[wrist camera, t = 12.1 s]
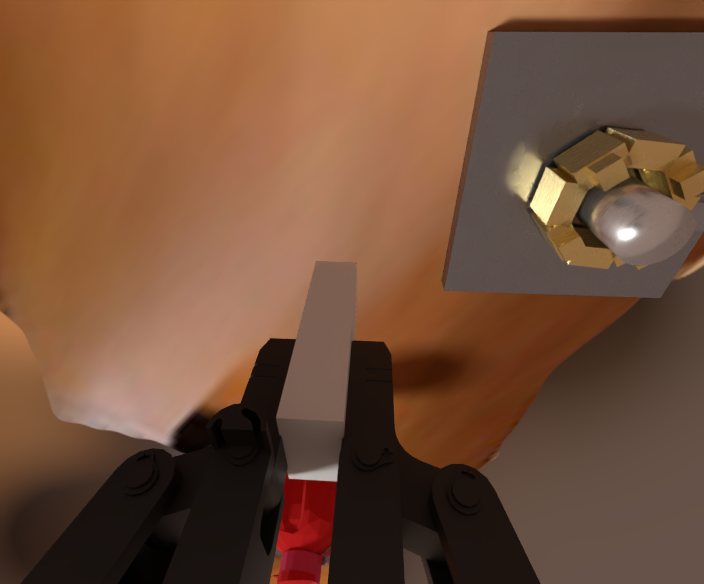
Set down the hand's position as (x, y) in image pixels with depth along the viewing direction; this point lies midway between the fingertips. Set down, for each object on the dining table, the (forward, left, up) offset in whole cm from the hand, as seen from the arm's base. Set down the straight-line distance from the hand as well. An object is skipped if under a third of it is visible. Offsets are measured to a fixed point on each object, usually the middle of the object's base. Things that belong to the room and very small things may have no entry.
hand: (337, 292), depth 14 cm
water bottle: (+37, -4, -25) cm, 45 cm away
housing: (+4, +22, -24) cm, 33 cm away
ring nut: (+4, +27, -22) cm, 35 cm away
